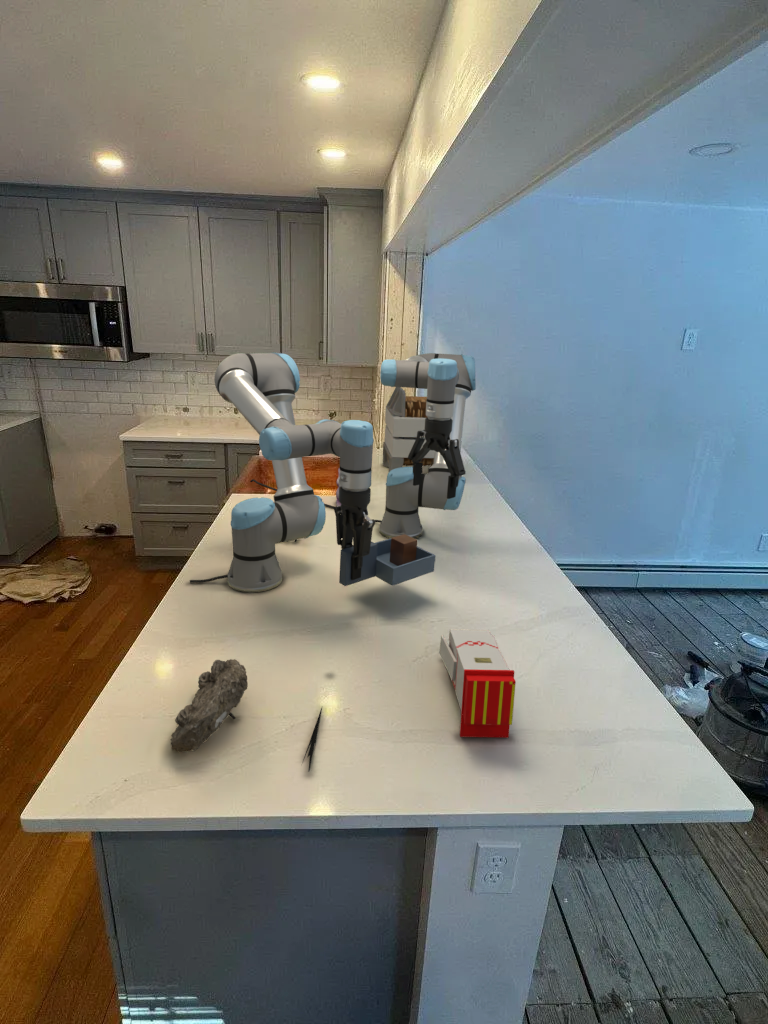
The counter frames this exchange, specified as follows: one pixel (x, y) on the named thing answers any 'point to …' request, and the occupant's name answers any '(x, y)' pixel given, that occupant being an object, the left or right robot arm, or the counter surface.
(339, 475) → the figurine
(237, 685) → the fossil
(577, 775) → the counter surface
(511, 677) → the toy
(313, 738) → the feather
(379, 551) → the tray
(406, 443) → the grey slatted box
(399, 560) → the block
